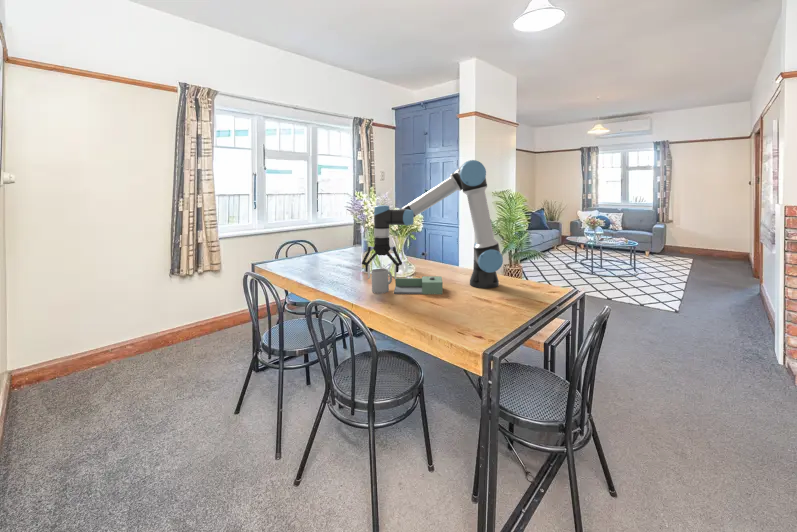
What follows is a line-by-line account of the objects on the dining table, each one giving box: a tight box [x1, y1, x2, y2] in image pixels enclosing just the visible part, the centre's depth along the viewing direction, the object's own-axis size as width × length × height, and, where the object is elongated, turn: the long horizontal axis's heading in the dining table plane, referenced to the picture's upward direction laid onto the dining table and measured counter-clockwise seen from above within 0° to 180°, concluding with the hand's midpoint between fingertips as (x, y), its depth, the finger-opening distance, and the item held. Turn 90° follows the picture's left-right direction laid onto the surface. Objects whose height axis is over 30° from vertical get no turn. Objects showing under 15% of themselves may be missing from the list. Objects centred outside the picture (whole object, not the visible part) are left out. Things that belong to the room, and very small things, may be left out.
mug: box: [371, 268, 393, 294], centre depth 199 cm, size 12×8×11 cm
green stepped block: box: [393, 275, 444, 295], centre depth 198 cm, size 24×13×7 cm, turn 86°
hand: (382, 278), depth 199 cm, fingers open, 13 cm apart
